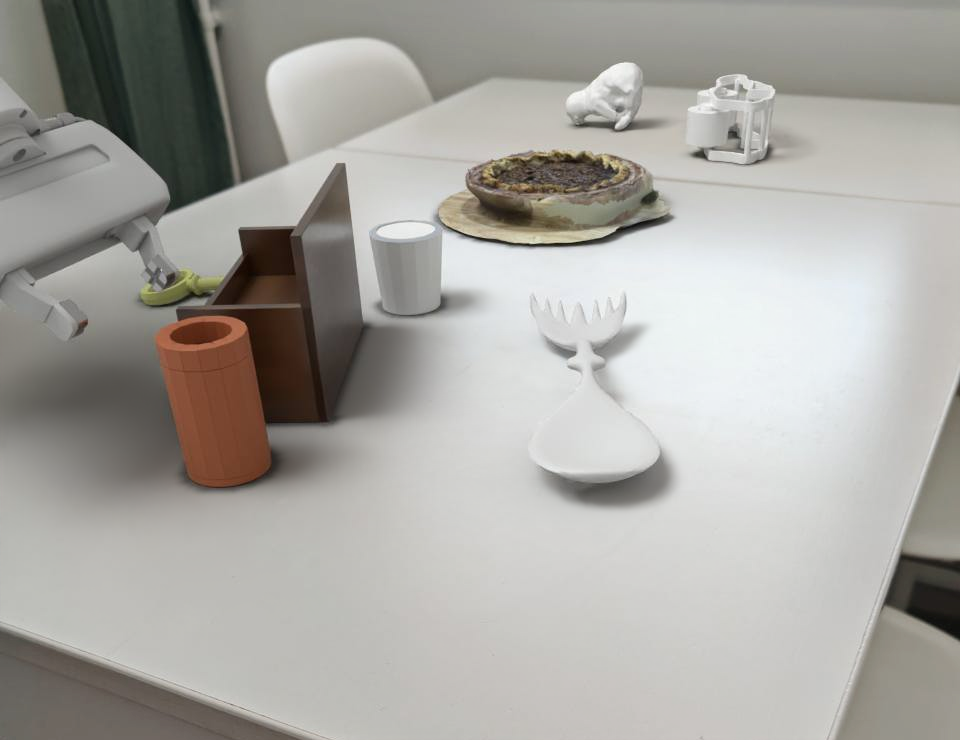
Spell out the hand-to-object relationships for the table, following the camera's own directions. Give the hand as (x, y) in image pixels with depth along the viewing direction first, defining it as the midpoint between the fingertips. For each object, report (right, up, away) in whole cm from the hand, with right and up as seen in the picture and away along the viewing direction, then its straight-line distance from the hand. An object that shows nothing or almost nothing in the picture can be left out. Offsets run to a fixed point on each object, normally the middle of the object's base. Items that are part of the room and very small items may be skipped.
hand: (126, 307), depth 68 cm
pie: (+33, +29, +53) cm, 68 cm away
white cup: (+17, +10, +29) cm, 35 cm away
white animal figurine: (+43, +56, +86) cm, 112 cm away
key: (-4, +12, +34) cm, 36 cm away
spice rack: (+8, +1, +18) cm, 20 cm away
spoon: (+32, -4, +11) cm, 34 cm away
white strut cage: (+59, +47, +74) cm, 106 cm away
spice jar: (+6, -10, +5) cm, 13 cm away
